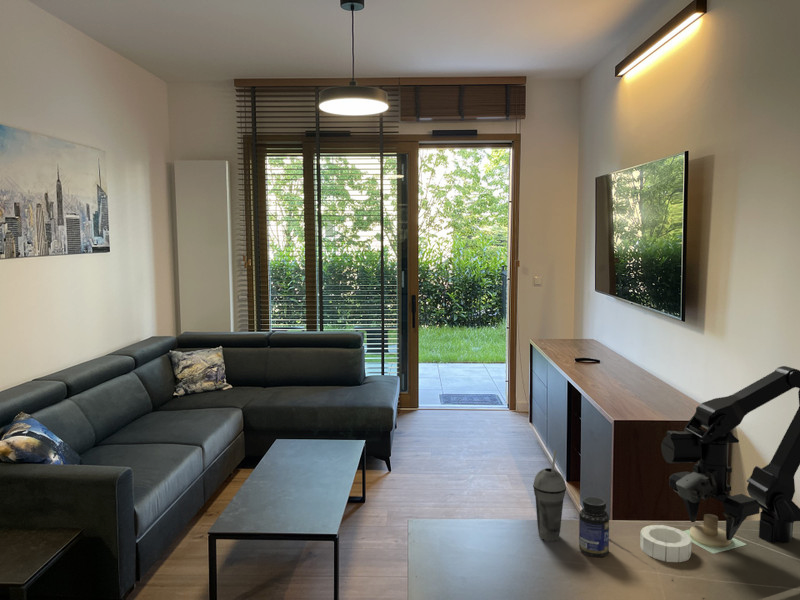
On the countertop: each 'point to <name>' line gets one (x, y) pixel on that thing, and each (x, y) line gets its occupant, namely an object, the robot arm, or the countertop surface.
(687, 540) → the white faceted ring
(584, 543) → the pill bottle
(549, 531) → the beverage cup
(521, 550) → the countertop surface
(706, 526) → the lid
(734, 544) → the mat
